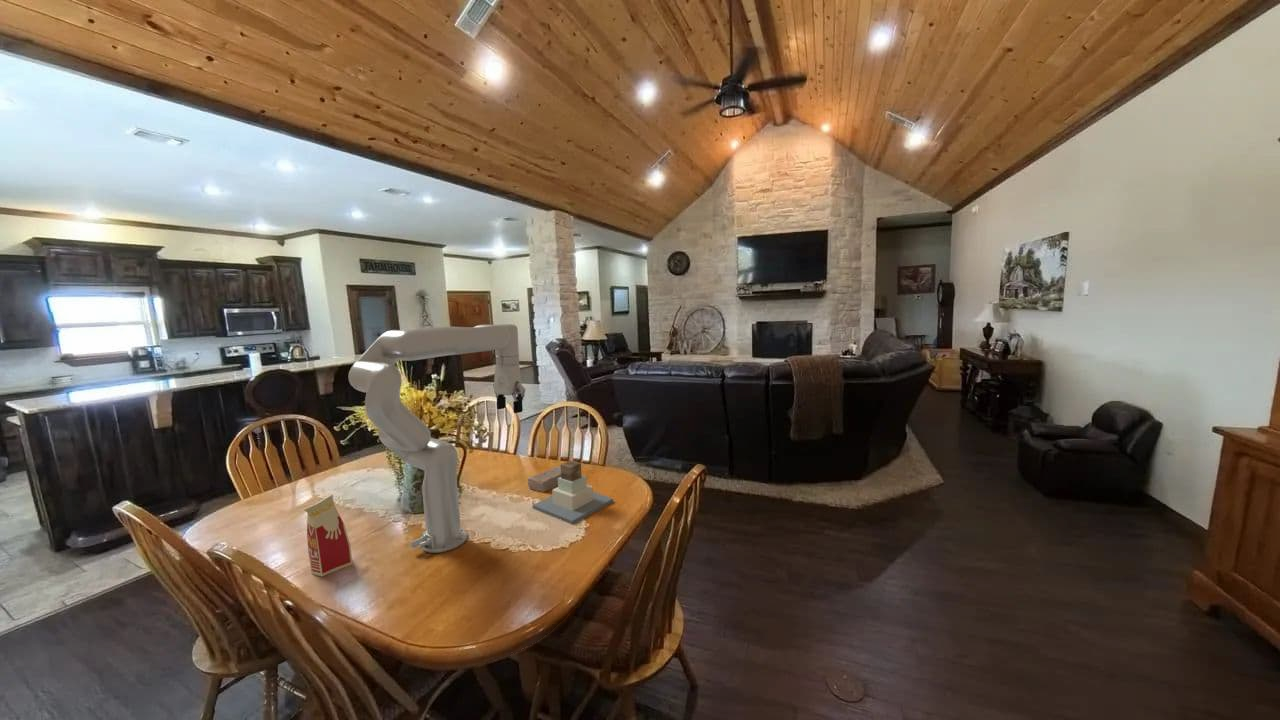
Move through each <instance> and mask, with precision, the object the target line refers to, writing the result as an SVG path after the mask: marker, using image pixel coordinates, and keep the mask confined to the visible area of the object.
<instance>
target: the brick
mask: <svg viewBox="0 0 1280 720" xmlns="http://www.w3.org/2000/svg"><path fill="white" fill-rule="evenodd" d="M560 477H561V466H557V465H555V466H553V467H551V468H549V469H547V470H545V471H544V472H540V473H538V474H536V475H535V474H534V475H532V476H529V477H528V478H527V485H528V488H529V489H531V490H532V491H536V492H541V493H544V492H545V493H546V492H547V491H549V490H551V489H552V490H553V489H554V488H556V487H558V478H560Z"/></svg>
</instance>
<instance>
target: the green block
mask: <svg viewBox="0 0 1280 720" xmlns="http://www.w3.org/2000/svg"><path fill="white" fill-rule="evenodd" d="M581 475H582V477H580V478H578V479H576V480H574V481H568V480H565V479H562V478H561V477H560V478H558V485H557V487H558V489H559V490H562V491H565V492H567V493H570V494H573V493H576V492H578V491H580V490H582V489H584V488H586V487H587V485H588V484H587V475H583V474H581Z"/></svg>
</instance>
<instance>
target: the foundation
mask: <svg viewBox="0 0 1280 720" xmlns="http://www.w3.org/2000/svg"><path fill="white" fill-rule="evenodd" d="M551 493H552V494H551V495H550V496H548V497H546V498H544V499H542V500H539V501H538V502H535V503H534V504H532V505H531V506H532V509H534V510H536V511H539V512H541V513H543V514H546V515H549V516H550V517H553V518H555V519H558V520H560V519H561V520H560V521H563V522H566V523H568V524H570V525H574V524H576V523H577V522H579V521H581V520H583V519H585V518H587V517H588V516H590V515H591V514H594V513H595V512H598V511H599V510H601V509H603V508H604V507H606V506H608V505H610V504H612V503H614V498H612V497H610V496H608V495H604V494H600V493H597V492H594V488H593V486H592V485H588V484H587V487H586V488H584V489H582V490H580V491H578V492H576V493H573V494H570V493H567V492H565V491H562V490H559V489H558V486H556V487H554V488H552V490H551Z"/></svg>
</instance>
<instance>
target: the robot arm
mask: <svg viewBox="0 0 1280 720" xmlns="http://www.w3.org/2000/svg"><path fill="white" fill-rule="evenodd" d="M518 336H519V331H518V327H517V325H515V324H512V323H511V324H508V323H506V324H505V323H504V324H478V325H475V326H473V327H470V326H469V327H466V326H439V327H438V326H437V327H430V328H418V329H405V330H404V329H403V330H402V329H391V330H387V331H386V332H384V333H383V334H381V335H380V336H379V337H378V338H377V339H376V340H375V341H374V342H373V343H371V345H370V346H369V347H368V348H367V349H366V351H364V352H363V354H361V355H360V357H359V358H358V359H357V360H356V361H355V362H354V363H353V365H352V366H351V368H350V370H349V371H348V382H349V384H350V386H351V387H353V389H355V390H356V391H359V392H362V393H366V394H365V400H364V406H365V407H364V409H365V413H366V416H367V418H368V419H369V420H370V422H371V423H372V424H373V425H374V426H375V427H376V428H377V429H378V430H377V431H378V432H377V433H378V438H379V440H380V442H381V443H382V445H384V447H386V448H387V449H389V450H390V451H391V452H393V454H394V455H396V456H397V457H399V459H401V460H402V461H403V462H405V463H407V464H408V465H409V466H411V467H414V468H416V469H419V470H421V471H424V477H423V479H422V480H423V481H422V485H421V493H422V501H423V512H424V514H423V515H424V522H425V523H424V524H425V530H424V531H422V535H421V536H420V537H419V538H417V539H414V540H411V541H410V542H409V544H408V545H409V547H410V549H414V548H417V547H418V548H419V549H422V550H423V551H425V552H427V553H432V554H438V553H443V552H444V553H445V552H448V551H451V550H454V549H457V548H458V547H460V546H461V545H463V544H464V543H465V542H466V540H467V538H468V536H467V531H466V530H464V529H463V528H462V526H461V517H460V516H461V514H460V505H459V491H458V490H459V489H458V479H457V476H458V475H457V474H458V473H457V472H458V465H459V464H458V463H459V455H458V450H457V449H456V447H455V446H454V445H453V444H452V443H450V442H448V441H446V440H445V441H444V440H442V439H438V438H434V437H432V435H431V434H432V433H431V429H429V426H428V425H427V424H426V423H425V422H424V421H423V420H422V419H420V418H419V417H418V416H417V415H415V414H414V412H413V411H412V410H410V409H408V408H407V406H406V405H405V404H404V403H403V402H402V400H401V397H400V393H401V388H402V381H403V378H402V375H401V372H400V370H399V369H398V368H397V367H396V366H395V364H396V363H397V362H398V361H404V362H405V361H406V362H407V361H408V362H409V361H410V362H411V361H418V360H426V359H431V358H438V357H446V356H454V355H455V356H456V355H462V354H471V353H481V352H490V351H494V350H495V351H494V352H495V366H494V374H493V375H494V378H493V381H494V383H493V384H492V388H493V391H494V393H495V398H496V409H497V410H502V409H506V408H507V402H506V399H507V397H506V396H512V399H513V405H512V406H513V413H514V414H519V413H522V412H524V411H523V410H524V409H523V407H524V406H523V401H524V397H525V393H526V388H525V387H524V386H523V385H522V384H523V383H522V373H521V367H520V356H519V355H520V353H519V351H520V350H519V337H518Z"/></svg>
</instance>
